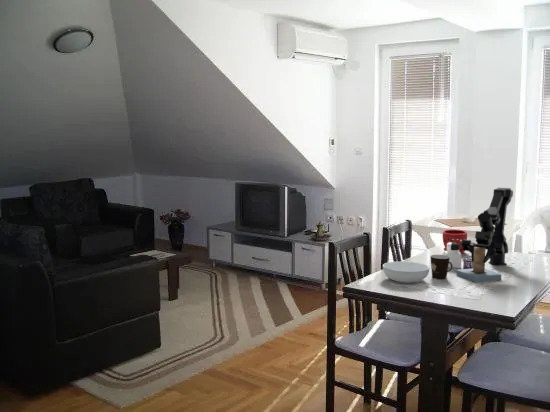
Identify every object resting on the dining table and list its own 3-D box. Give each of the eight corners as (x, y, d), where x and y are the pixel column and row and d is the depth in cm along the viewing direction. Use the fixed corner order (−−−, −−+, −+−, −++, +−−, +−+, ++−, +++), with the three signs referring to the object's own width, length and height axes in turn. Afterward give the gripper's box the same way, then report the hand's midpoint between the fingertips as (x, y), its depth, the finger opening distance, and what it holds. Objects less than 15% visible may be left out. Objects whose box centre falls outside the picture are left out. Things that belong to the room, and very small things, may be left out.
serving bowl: (439, 282, 257) (439, 267, 256) (404, 289, 246) (405, 273, 245) (406, 273, 275) (406, 258, 274) (372, 278, 264) (373, 264, 263)
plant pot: (440, 249, 328) (440, 229, 326) (463, 250, 327) (464, 229, 325) (444, 254, 315) (445, 233, 313) (468, 255, 314) (469, 233, 312)
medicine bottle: (458, 264, 291) (458, 241, 290) (461, 268, 284) (462, 244, 282) (443, 264, 292) (444, 241, 290) (446, 267, 285) (447, 244, 283)
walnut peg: (479, 275, 269) (480, 246, 267) (486, 278, 264) (487, 248, 262) (470, 276, 267) (471, 247, 265) (477, 279, 262) (478, 249, 261)
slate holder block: (481, 272, 274) (481, 267, 274) (501, 279, 261) (501, 274, 261) (456, 275, 270) (456, 269, 270) (475, 282, 257) (475, 276, 257)
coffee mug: (427, 275, 270) (428, 254, 268) (445, 275, 270) (446, 254, 268) (434, 281, 258) (435, 260, 257) (453, 281, 258) (454, 260, 257)
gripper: (463, 222, 271) (454, 249, 264) (504, 226, 260) (496, 254, 253) (467, 236, 278) (459, 263, 271) (507, 240, 268) (500, 268, 260)
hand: (478, 261), depth 263 cm, fingers closed on walnut peg, 5 cm apart
